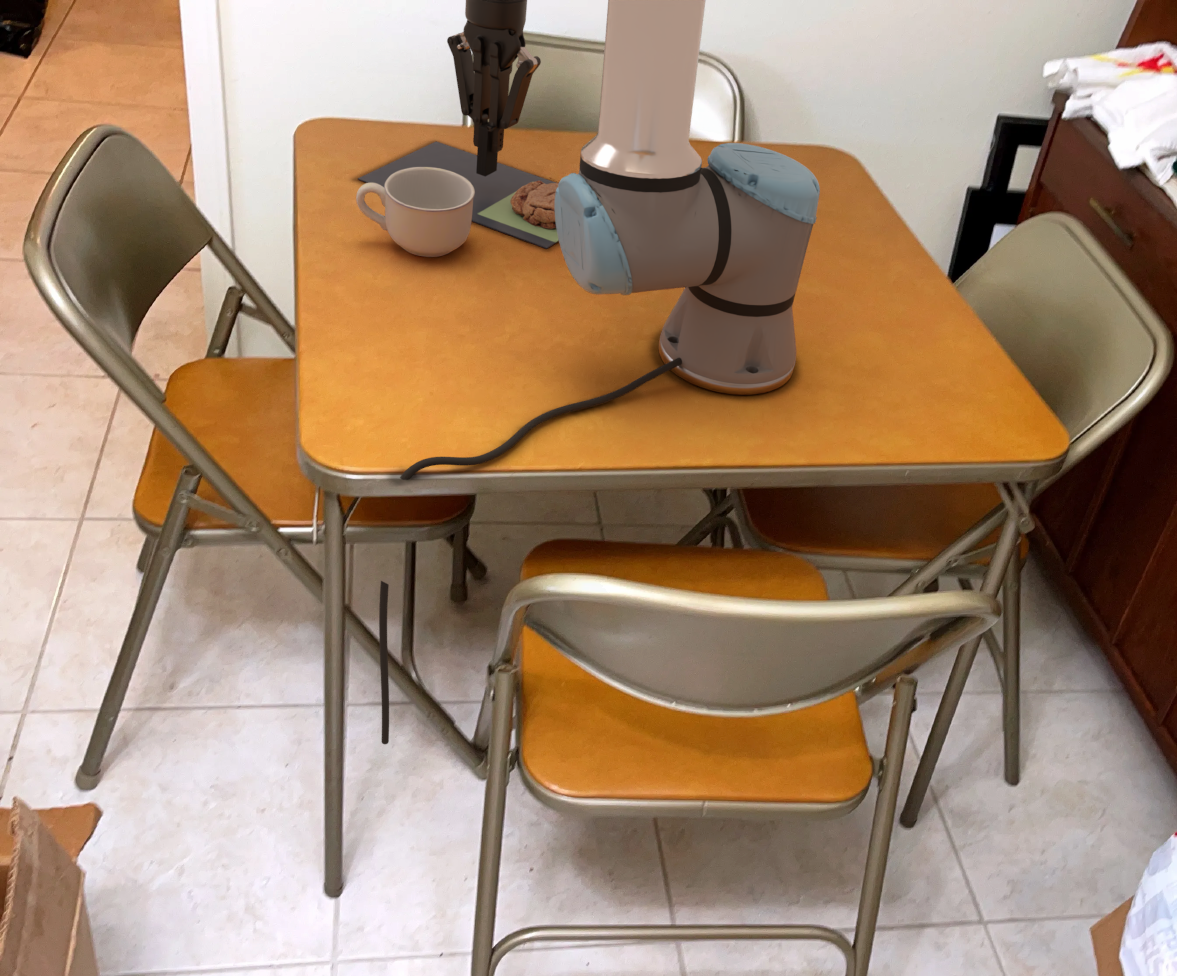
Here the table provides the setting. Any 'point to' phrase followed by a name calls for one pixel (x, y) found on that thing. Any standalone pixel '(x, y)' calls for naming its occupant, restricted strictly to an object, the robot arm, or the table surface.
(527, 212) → the cookie
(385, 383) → the table surface
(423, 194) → the teacup
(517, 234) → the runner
